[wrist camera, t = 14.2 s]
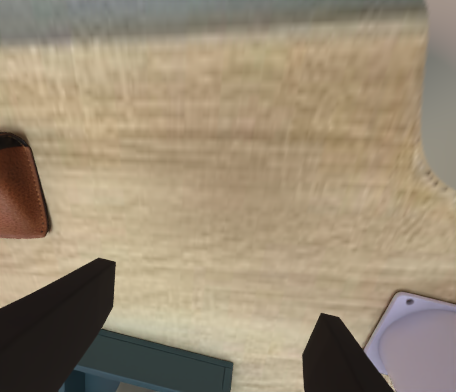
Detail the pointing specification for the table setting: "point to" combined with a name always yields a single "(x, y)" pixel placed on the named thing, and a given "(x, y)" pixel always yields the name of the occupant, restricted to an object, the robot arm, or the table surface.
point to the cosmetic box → (131, 388)
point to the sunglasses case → (20, 191)
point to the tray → (145, 367)
